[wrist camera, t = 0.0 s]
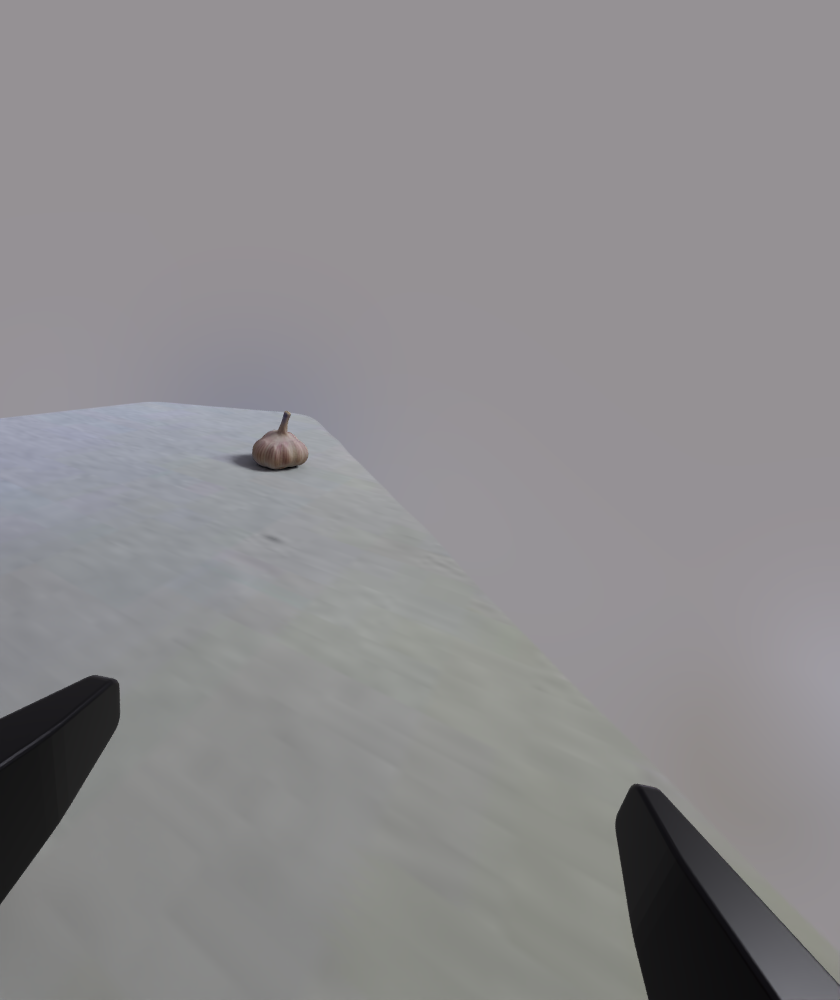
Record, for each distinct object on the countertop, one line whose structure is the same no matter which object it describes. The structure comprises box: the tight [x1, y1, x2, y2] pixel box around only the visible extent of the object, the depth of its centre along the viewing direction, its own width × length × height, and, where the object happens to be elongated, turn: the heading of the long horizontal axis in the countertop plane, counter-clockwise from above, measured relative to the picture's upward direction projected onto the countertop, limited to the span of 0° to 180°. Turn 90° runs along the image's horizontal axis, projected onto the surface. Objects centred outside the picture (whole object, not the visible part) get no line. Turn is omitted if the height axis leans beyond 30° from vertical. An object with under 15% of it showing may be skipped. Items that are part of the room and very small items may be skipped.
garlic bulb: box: [252, 411, 308, 469], centre depth 68 cm, size 8×7×8 cm
